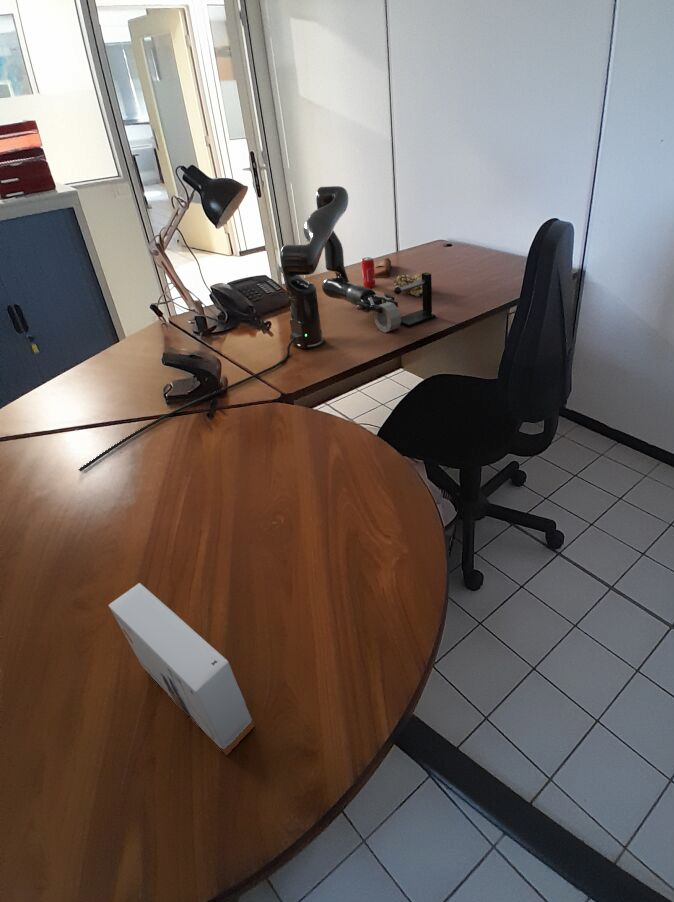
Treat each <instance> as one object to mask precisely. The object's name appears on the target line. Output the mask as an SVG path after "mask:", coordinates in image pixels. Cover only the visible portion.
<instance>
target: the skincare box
mask: <svg viewBox="0 0 674 902" xmlns="http://www.w3.org/2000/svg"><path fill="white" fill-rule="evenodd" d="M108 607H109V609H110V610H111V613H112V614H113V616H114V618H115V620H116V622H117V623H118V625H119V627H120V629H121V631H122V632H123V634H124V636H125V638H126V641H128V643H129V645H130V647H131V648H132V651H133V652H134V654H135V657H136V658H137V659H138V662H139V663H140V665H141V667H142V666H143V667H142V669H143V668H144V669H145V670H146V671H147V672H148V673H149V674H150V675H151V677H152V678H153V679H154V680H155V681H156V682H157V683H158V684H159V685H160V686H161V687H162V688H163V689H164V690H165V691H166V692H167V693H168V695H169V696H170V697H171V698H172V699H173V700H174V701H175V702H176V703H177V704H178V705H179V706H180V707H181V708H182V709H183V710H184V711H185V712H186V713H187V714H188V715H189V716H190V717H191V718H192V719H193V720H194V721H195V722H196V724H197V725H198V726H199V727H200V728H201V729H202V730H203V731H204V732H205V733H206V734H207V735H208V736H209V737H210V738H211V739H212V740H213V741H214V742H215V743H216V744H217V745H218V746H219V747H220V748H222V749H225V748H226V747H227V746H228V745H230V744H231V743H232V742H233V741H234V740H235V739H236V737H238V736H239V734H240V733H241V732H243V730H244V729H245V728H246V727H247V726H248V725H249V724H250V723H251V721H252V720H253V717H252V716H251V714H250V712H249V709H248V707H247V705H246V700H245V698H244V696H243V693H242V691H241V689H240V687H239V685H238V683H237V679H236V677H235V675H234V672H233V670H232V667H231V664H230V662H229V661H228V660H227V658H226V657H224V656H223V655H222V654H221V653H220V652H219V651H217V650H216V649H215V648H214V647H213V646H211V644H209V642H207V641H206V639H205V638H203V637H201V635H200V634H198V633H197V632H196V631H195V630H194V629H193V628H191V626H190V625H188V624H187V623H186V622H185V621H184V620H183V619H182V618H180V617H179V616H178V615H177V614H176V613H175V612H173V610H172V609H170V608H169V607H168V606H167V605H166V604H165V603H163V602H162V601H161V600H160V599H159V598H158V597H156V595H155V594H153V593H152V592H151V591H150V590H149V589H147V588H146V587H145V586H144V584H142V583H140V582H138V583H137V584H136V585H134V586H133V587H132V588H130V589H128V590H127V591H125V592H124V593H123V594H121V595H120V596H119V597H117V598H116V599H115V600H113V601H112V602H110V603H109V604H108ZM144 669H143V670H144ZM151 677H150V678H151ZM152 678H151V679H152ZM153 679H152V680H153ZM154 680H153V681H154ZM155 681H154V682H155ZM156 682H155V683H156ZM157 683H156V684H157ZM158 684H157V685H158ZM168 695H167V696H168ZM169 696H168V697H169ZM170 697H169V698H170ZM171 698H170V699H171ZM172 699H171V700H172ZM173 700H172V701H173ZM174 701H173V702H174ZM175 702H174V703H175ZM176 703H175V704H176ZM177 704H176V705H177ZM178 705H177V706H178ZM196 724H195V725H196ZM197 725H196V726H197ZM198 726H197V727H198ZM199 727H198V728H199Z"/></svg>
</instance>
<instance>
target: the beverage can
mask: <svg viewBox="0 0 674 902" xmlns="http://www.w3.org/2000/svg"><path fill="white" fill-rule="evenodd" d="M374 266H375V261H374V258H373V257H369V256H367V257H363V258H361V272H362V284H363V285H362V286H363V287H366V288H369V289H372V288H375V286H376V277H375V272H374Z"/></svg>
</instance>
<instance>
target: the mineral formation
mask: <svg viewBox="0 0 674 902" xmlns="http://www.w3.org/2000/svg"><path fill="white" fill-rule="evenodd" d="M419 281H422V273H416V274H415V275H414V276H413V275H412V276H411V275H410V274H402V275H398V276H397V277H396V278H393V282H394V284H393V286H394V289H395V288H396V287H403V286H406V285H410V284H413V283H416V282H419ZM405 293H406V294H407V295H412V296H414V297H416V298H418V297H420V296H421V295H422V286H418V287H415V288H412V289H409V290H406V291H405Z"/></svg>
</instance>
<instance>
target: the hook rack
mask: <svg viewBox="0 0 674 902" xmlns="http://www.w3.org/2000/svg"><path fill="white" fill-rule="evenodd" d="M421 275H422V281H419V282H416V283H413V284H410V285H406V286H403V287H396V288H395V287H394V289H393V292H394V294H395V295H400V294H401V293H402V292H406V290H409V289H412V288H415V287H418V286H422V294H421V295H422V309H419V310H417V311H414V312H411V313H408V314H405V315H402V316H401V324H400V326H401V325H402V326H404V327H406V328H409V329H410V328H412V327H415V326H417V325H420V324H423V323H425V322H428V321H431V320H434V319H436V318H437V317H436V314H434V313H433V292H432V291H433V290H432V288H433V287H432V284H433V283H432V273H429V272H422V273H421Z"/></svg>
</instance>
